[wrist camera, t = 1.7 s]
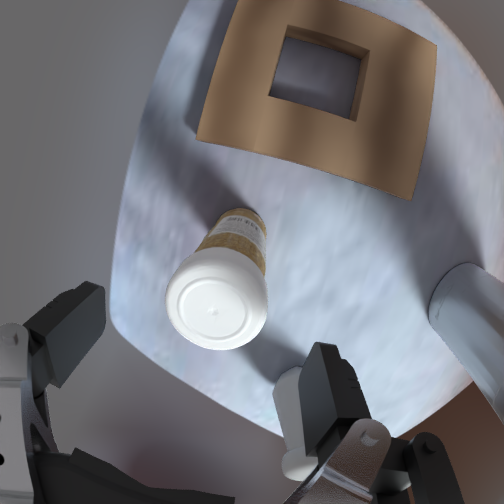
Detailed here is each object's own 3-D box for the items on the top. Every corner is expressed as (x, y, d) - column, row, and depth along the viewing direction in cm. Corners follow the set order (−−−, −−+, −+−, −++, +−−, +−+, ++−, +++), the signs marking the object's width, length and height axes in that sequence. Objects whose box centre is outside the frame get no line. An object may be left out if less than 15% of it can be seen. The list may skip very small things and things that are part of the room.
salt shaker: (270, 394, 30) (270, 487, 18) (273, 360, 28) (274, 463, 16) (318, 394, 30) (333, 483, 17) (326, 360, 28) (349, 458, 16)
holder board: (424, 52, 17) (437, 45, 15) (398, 197, 22) (411, 201, 20) (247, -6, 17) (246, -19, 14) (202, 141, 22) (195, 139, 19)
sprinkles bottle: (205, 236, 24) (144, 314, 12) (236, 196, 23) (198, 237, 10) (245, 267, 25) (225, 369, 12) (278, 229, 24) (291, 306, 11)
